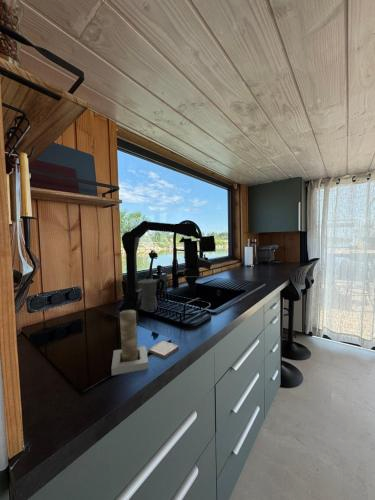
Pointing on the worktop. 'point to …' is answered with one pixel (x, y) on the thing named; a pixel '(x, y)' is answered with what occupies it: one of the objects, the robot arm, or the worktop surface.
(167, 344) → the tile
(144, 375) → the worktop surface
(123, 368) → the holder
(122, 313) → the peg
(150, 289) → the coffeepot
